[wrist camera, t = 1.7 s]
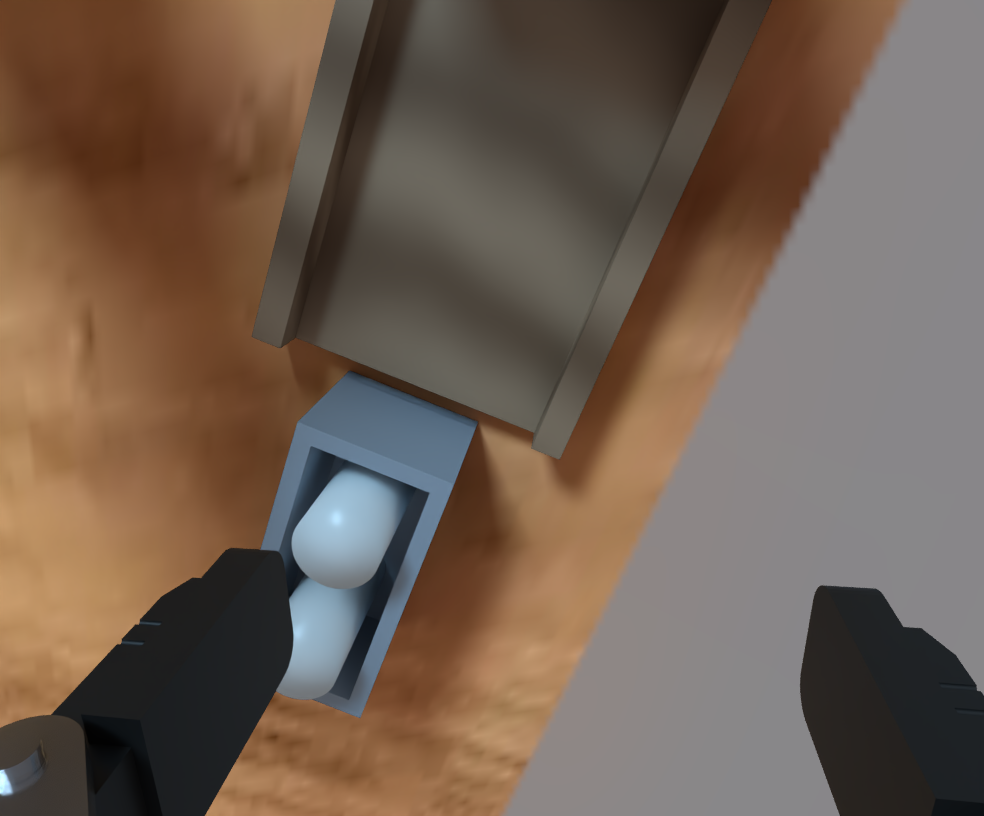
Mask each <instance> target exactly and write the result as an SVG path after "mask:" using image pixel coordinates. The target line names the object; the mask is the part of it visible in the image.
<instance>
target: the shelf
mask: <svg viewBox="0 0 984 816" xmlns="http://www.w3.org/2000/svg"><path fill="white" fill-rule="evenodd" d="M771 1H772V0H336V1H335V5H334V9H333V13H332V17H331V21H330V25H329V29H328V33H327V37H326V41H325V45H324V49H323V53H322V57H321V61H320V65H319V69H318V73H317V77H316V81H315V85H314V89H313V93H312V97H311V101H310V105H309V109H308V113H307V117H306V121H305V125H304V129H303V133H302V137H301V141H300V145H299V149H298V153H297V157H296V161H295V165H294V169H293V173H292V177H291V181H290V185H289V189H288V193H287V197H286V201H285V205H284V209H283V213H282V217H281V221H280V225H279V229H278V233H277V237H276V241H275V245H274V249H273V253H272V257H271V261H270V265H269V269H268V273H267V277H266V281H265V285H264V289H263V293H262V297H261V301H260V305H259V309H258V313H257V317H256V321H255V325H254V329H253V333H252V337H253V338H255V339H258V340H260V341H263V342H266V343H268V344H271V345H273V346H276V347H278V348H281V347H283V346H284V345H286V344H287V343H289V342H290V341H291V340H293V339H294V338H298V339H300V340H303V341H305V342H308V343H310V344H313V345H315V346H318V347H320V348H323V349H325V350H328V351H330V352H333V353H336V354H338V355H341V356H343V357H346V358H348V359H351V360H353V361H356V362H358V363H361V364H363V365H366V366H368V367H371V368H373V369H376V370H378V371H381V372H383V373H386V374H388V375H391V376H393V377H396V378H398V379H401V380H403V381H406V382H408V383H411V384H413V385H416V386H418V387H421V388H423V389H426V390H428V391H431V392H433V393H436V394H438V395H441V396H443V397H446V398H448V399H451V400H453V401H456V402H458V403H461V404H463V405H466V406H468V407H471V408H473V409H476V410H478V411H481V412H483V413H486V414H488V415H491V416H493V417H496V418H498V419H501V420H503V421H506V422H508V423H511V424H513V425H516V426H518V427H521V428H523V429H526V430H528V431H531V432H534V436H533V442H532V447H531V449H534V450H536V451H539V452H541V453H544V454H547V455H549V456H552V457H554V458H557V459H559V460H560V458H561V455H562V453H563V451H564V449H565V447H566V445H567V442H568V440H569V438H570V436H571V434H572V432H573V429H574V427H575V425H576V423H577V421H578V419H579V416H580V414H581V412H582V410H583V408H584V406H585V403H586V401H587V399H588V397H589V395H590V393H591V391H592V388H593V386H594V384H595V382H596V380H597V378H598V375H599V373H600V371H601V369H602V367H603V365H604V362H605V360H606V358H607V356H608V354H609V352H610V349H611V347H612V345H613V343H614V341H615V339H616V336H617V334H618V332H619V330H620V328H621V326H622V323H623V321H624V319H625V317H626V315H627V313H628V310H629V308H630V306H631V304H632V302H633V300H634V297H635V295H636V293H637V291H638V289H639V287H640V285H641V282H642V280H643V278H644V276H645V274H646V272H647V269H648V267H649V265H650V263H651V261H652V259H653V256H654V254H655V252H656V250H657V248H658V246H659V243H660V241H661V239H662V237H663V235H664V233H665V230H666V228H667V226H668V224H669V222H670V220H671V217H672V215H673V213H674V211H675V209H676V207H677V204H678V202H679V200H680V198H681V196H682V194H683V192H684V189H685V187H686V185H687V183H688V181H689V179H690V176H691V174H692V172H693V170H694V168H695V166H696V163H697V161H698V159H699V157H700V155H701V153H702V150H703V148H704V146H705V144H706V142H707V140H708V137H709V135H710V133H711V131H712V129H713V127H714V124H715V122H716V120H717V118H718V116H719V114H720V111H721V109H722V107H723V105H724V103H725V101H726V98H727V96H728V94H729V92H730V90H731V88H732V86H733V83H734V81H735V79H736V77H737V75H738V73H739V70H740V68H741V66H742V64H743V62H744V60H745V57H746V55H747V53H748V51H749V49H750V47H751V44H752V42H753V40H754V38H755V36H756V34H757V31H758V29H759V27H760V25H761V23H762V21H763V18H764V16H765V14H766V12H767V10H768V8H769V5H770V3H771Z"/></svg>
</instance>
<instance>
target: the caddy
mask: <svg viewBox="0 0 984 816" xmlns="http://www.w3.org/2000/svg"><path fill="white" fill-rule="evenodd" d="M477 423H478V422H477V421H475V420H472V419H470V418H467V417H465V416H462V415H460V414H457V413H455V412H452V411H450V410H447V409H445V408H442V407H440V406H437V405H435V404H432V403H430V402H427V401H425V400H422V399H420V398H417V397H415V396H412V395H410V394H407V393H405V392H402V391H400V390H397V389H395V388H392V387H390V386H387V385H385V384H382V383H380V382H377V381H375V380H372V379H370V378H367V377H365V376H362V375H360V374H357V373H355V372H352V371H349V372H348V373H347V374H346V375H345V376H344V377H343V378H342V379H341V380H340V381H339V382H338V383H336V384H335V385H334V386H333V387H332V388H331V389H330V390H329V391H328V392H327V393H326V394H325V395H324V396H323V397H322V398H321V399H320V400H319V401H318V402H317V403H316V404H315V405H314V406H313V407H312V408H311V409H310V410H309V411H308V412H307V413H306V414H305V415H304V416H303V417H302V418H301V419H300V420H299V421H298V422H297V426H296V429H295V433H294V436H293V440H292V443H291V446H290V450H289V453H288V457H287V460H286V464H285V467H284V470H283V474H282V477H281V481H280V484H279V488H278V491H277V495H276V498H275V501H274V505H273V508H272V512H271V515H270V519H269V522H268V525H267V529H266V532H265V536H264V539H263V543H262V546H261V549H260V550H274V551H278V552H279V553H280V554H281V556H282V558H283V561H284V566H285V573H286V581H287V588H288V596H289V603H290V610H291V618H292V625H293V634H294V640H293V651H292V656H291V660H290V664H289V667H288V669H287V672H286V674H285V676H284V678H283V679H282V681H281V683H280V685H279V686H278V688H277V690H276V691H277V692H278V693H280V694H282V695H284V696H287V697H290V698H294V699H300V700H309V699H312V700H315V701H318V702H320V703H323V704H325V705H328V706H330V707H333V708H335V709H338V710H341V711H343V712H346V713H348V714H351V715H353V716H356V717H359V718H360V717H361V714H362V712H363V709H364V707H365V704H366V702H367V700H368V697H369V695H370V692H371V690H372V687H373V685H374V682H375V680H376V677H377V675H378V672H379V670H380V667H381V665H382V662H383V660H384V657H385V655H386V652H387V650H388V647H389V645H390V642H391V640H392V637H393V635H394V632H395V630H396V627H397V625H398V622H399V620H400V618H401V615H402V613H403V610H404V608H405V605H406V603H407V600H408V598H409V595H410V593H411V590H412V588H413V585H414V583H415V580H416V578H417V575H418V573H419V570H420V568H421V565H422V563H423V560H424V558H425V555H426V553H427V550H428V548H429V545H430V543H431V540H432V538H433V536H434V533H435V531H436V528H437V526H438V523H439V521H440V518H441V516H442V513H443V511H444V508H445V506H446V503H447V501H448V498H449V496H450V493H451V491H452V488H453V486H454V483H455V481H456V478H457V476H458V473H459V470H460V468H461V465H462V463H463V460H464V457H465V455H466V452H467V450H468V447H469V444H470V442H471V439H472V436H473V434H474V431H475V429H476V426H477Z"/></svg>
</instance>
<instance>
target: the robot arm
mask: <svg viewBox="0 0 984 816" xmlns="http://www.w3.org/2000/svg"><path fill="white" fill-rule="evenodd" d="M293 640H294V634H293V625H292V618H291V610H290V603H289V596H288V588H287V581H286V573H285V566H284V561H283V558H282V556H281V554H280V553H279V552H278V551H274V550H258V549H241V548H229V549H228V550H226V551H225V552H224V553H223V554H222V555H221V556H220V557H219V558H218V560H217V561H216V562H215V563H214V564H213V565H212V566H211V568H210V569H209V570H208V571H207V572H206V573H205V574H204V575H203V577H202V578H191V579H190V580H188V581H186V582H185V583H183V584H181V585H180V586H178V587H177V588H175V589H173V590H172V591H170V592H168V593H167V594H165V595H163V596H162V597H161V598H160V599H159V600H158V601H157V602H156V603H155V604H154V605H153V606H152V607H151V608H150V610H149V611H148V612H147V613H146V614H145V615H144V616H143V617H142V618H141V619H140V623H139V625H135V626H134V627H133V628H132V629H131V630H130V631H129V632H128V633H127V634H126V635H125V636H124V637H123V638H122V643H121V644H117V645H116V646H115V647H114V648H113V649H112V650H111V651H110V652H109V653H108V655H107V656H106V657H105V658H104V659H103V660H102V661H101V662H100V663H99V664H98V665H97V666H96V667H95V668H94V670H93V671H92V672H91V673H90V674H89V675H88V676H87V677H86V678H85V679H84V680H83V681H82V682H81V683H80V684H79V686H78V687H77V688H76V689H75V690H74V691H73V692H72V693H71V694H70V695H69V696H68V697H67V698H66V699H65V701H64V702H63V703H62V704H61V705H60V706H59V707H58V708H57V709H56V710H55V711H54V712H53V713H52V714H51V715H43V716H36V717H30V718H26V719H23V720H19V721H16V722H13V723H11V724H8V725H5V726H3V727H1V728H0V816H205V814H206V813H207V811H208V809H209V807H210V806H211V804H212V802H213V800H214V799H215V797H216V795H217V793H218V792H219V790H220V788H221V786H222V785H223V783H224V781H225V779H226V778H227V776H228V774H229V772H230V771H231V769H232V767H233V765H234V764H235V762H236V760H237V758H238V757H239V755H240V753H241V751H242V750H243V748H244V746H245V744H246V743H247V741H248V739H249V737H250V736H251V734H252V732H253V730H254V728H255V727H256V725H257V723H258V721H259V720H260V718H261V716H262V714H263V713H264V711H265V709H266V707H267V706H268V704H269V702H270V700H271V699H272V697H273V695H274V693H275V692H276V690H277V688H278V686H279V685H280V683H281V681H282V679H283V678H284V676H285V674H286V672H287V669H288V667H289V664H290V660H291V656H292V651H293ZM800 693H801V703H802V709H803V713H804V717H805V721H806V723H807V726H808V729H809V732H810V734H811V737H812V740H813V742H814V745H815V748H816V751H817V754H818V757H819V759H820V762H821V765H822V767H823V770H824V773H825V776H826V779H827V781H828V784H829V787H830V790H831V792H832V795H833V798H834V801H835V803H836V806H837V809H838V811H839V814H840V816H984V695H983V694H982V692H981V691H977V688H976V684H975V682H974V681H973V679H972V678H971V677H970V675H969V674H968V672H967V671H966V670H965V668H964V667H963V665H962V664H961V662H960V661H959V659H958V658H957V656H956V655H955V654H953V653H952V652H951V651H950V650H948V649H947V648H946V647H945V646H943V645H942V644H941V643H939V642H938V641H937V640H936V639H934V638H933V637H932V636H931V635H929V634H928V633H926V632H925V631H924V630H923V629H922V628H909V627H903V626H902V624H901V622H900V621H899V619H898V618H897V616H896V615H895V613H894V611H893V610H892V608H891V607H890V605H889V603H888V602H887V600H886V599H885V597H884V596H883V594H882V593H881V592H880V591H879V590H877V589H871V588H854V587H839V586H819V587H818V589H817V590H816V592H815V595H814V599H813V605H812V610H811V616H810V622H809V628H808V634H807V640H806V646H805V652H804V658H803V663H802V669H801V678H800Z"/></svg>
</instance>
